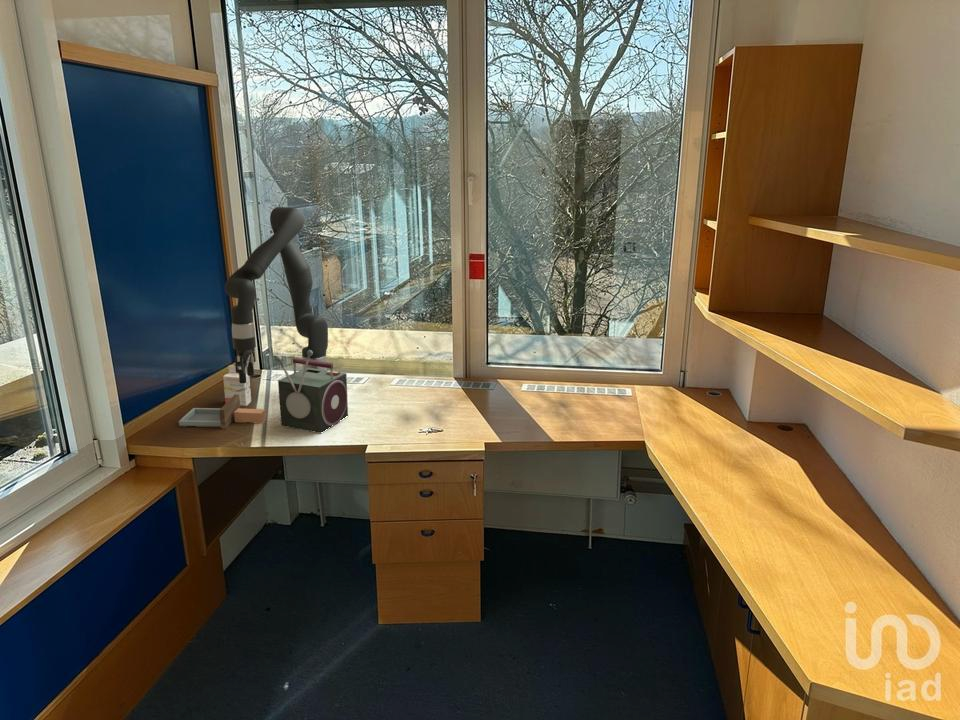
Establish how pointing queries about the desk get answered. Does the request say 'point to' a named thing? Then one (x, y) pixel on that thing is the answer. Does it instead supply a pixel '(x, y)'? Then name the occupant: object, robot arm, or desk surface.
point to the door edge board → (229, 411)
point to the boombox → (312, 396)
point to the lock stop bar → (250, 415)
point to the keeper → (202, 418)
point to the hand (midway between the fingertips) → (247, 379)
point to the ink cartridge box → (236, 386)
